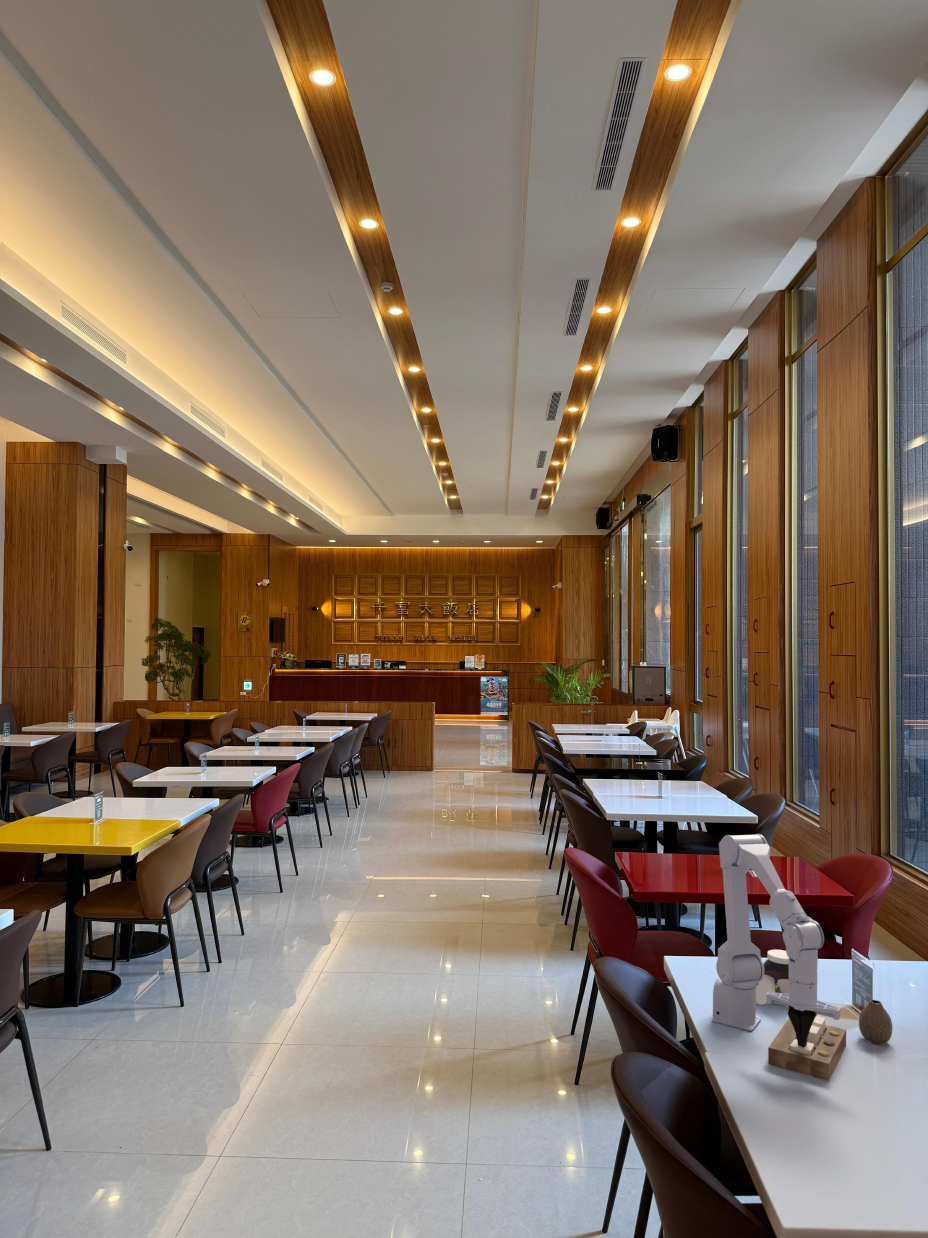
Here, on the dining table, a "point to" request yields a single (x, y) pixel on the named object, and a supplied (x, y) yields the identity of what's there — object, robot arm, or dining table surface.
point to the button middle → (814, 1035)
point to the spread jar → (773, 976)
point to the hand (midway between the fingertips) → (802, 1045)
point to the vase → (875, 1023)
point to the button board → (805, 1064)
